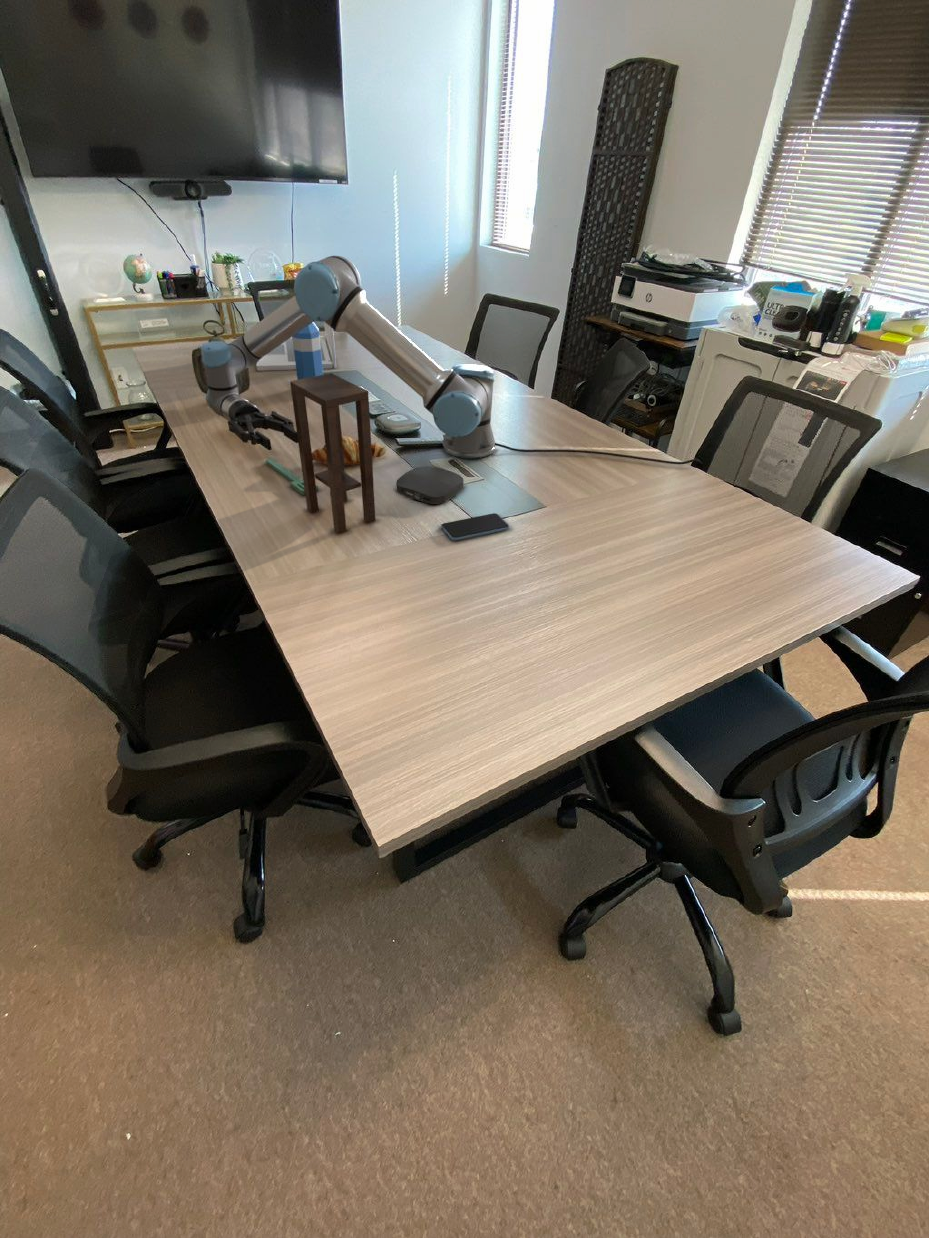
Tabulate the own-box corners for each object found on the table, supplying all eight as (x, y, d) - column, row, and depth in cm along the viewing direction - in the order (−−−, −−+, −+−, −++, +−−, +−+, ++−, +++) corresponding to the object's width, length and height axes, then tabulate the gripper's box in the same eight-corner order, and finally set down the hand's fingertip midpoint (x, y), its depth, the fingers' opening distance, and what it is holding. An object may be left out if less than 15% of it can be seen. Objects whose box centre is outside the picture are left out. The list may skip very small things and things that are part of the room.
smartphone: (511, 526, 140) (453, 538, 134) (510, 529, 140) (452, 542, 135) (496, 511, 145) (439, 523, 139) (495, 514, 145) (439, 526, 140)
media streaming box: (469, 486, 157) (469, 475, 155) (438, 508, 147) (439, 497, 145) (422, 471, 162) (422, 461, 160) (390, 492, 152) (389, 481, 150)
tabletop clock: (201, 405, 193) (182, 320, 177) (217, 396, 200) (199, 314, 184) (242, 411, 191) (226, 325, 175) (257, 401, 198) (242, 319, 182)
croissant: (383, 463, 173) (379, 434, 171) (392, 460, 164) (388, 430, 162) (309, 470, 166) (304, 441, 165) (313, 468, 157) (308, 436, 155)
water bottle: (319, 396, 204) (311, 316, 188) (293, 393, 205) (283, 313, 189) (330, 388, 211) (322, 309, 195) (304, 385, 212) (295, 307, 197)
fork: (261, 464, 161) (260, 460, 161) (276, 460, 164) (275, 456, 163) (302, 495, 149) (302, 491, 148) (318, 490, 151) (317, 486, 151)
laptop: (257, 341, 252) (245, 266, 235) (328, 340, 258) (321, 266, 241) (257, 370, 222) (243, 287, 205) (336, 368, 229) (329, 287, 211)
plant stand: (307, 509, 144) (289, 381, 125) (343, 498, 149) (331, 373, 130) (339, 534, 136) (325, 400, 117) (375, 520, 141) (368, 391, 122)
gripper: (277, 419, 171) (319, 446, 158) (209, 435, 160) (248, 465, 147) (273, 392, 166) (316, 418, 153) (203, 407, 156) (243, 435, 143)
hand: (283, 441), depth 150 cm, fingers open, 7 cm apart
